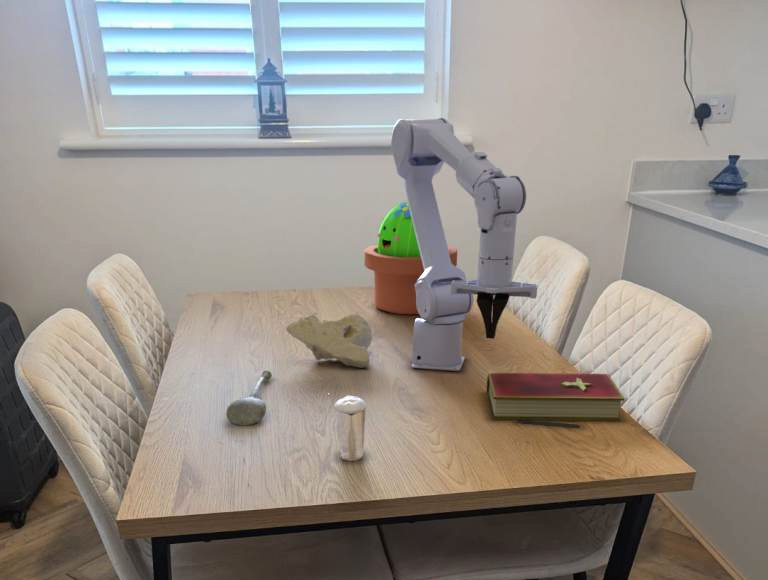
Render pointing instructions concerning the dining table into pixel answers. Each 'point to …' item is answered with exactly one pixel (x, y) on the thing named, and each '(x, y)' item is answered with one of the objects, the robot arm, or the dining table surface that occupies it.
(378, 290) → the potted cactus
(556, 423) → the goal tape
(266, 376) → the soupspoon
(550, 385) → the hardcover book
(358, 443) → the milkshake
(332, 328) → the beige rock fragment
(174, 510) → the dining table surface
